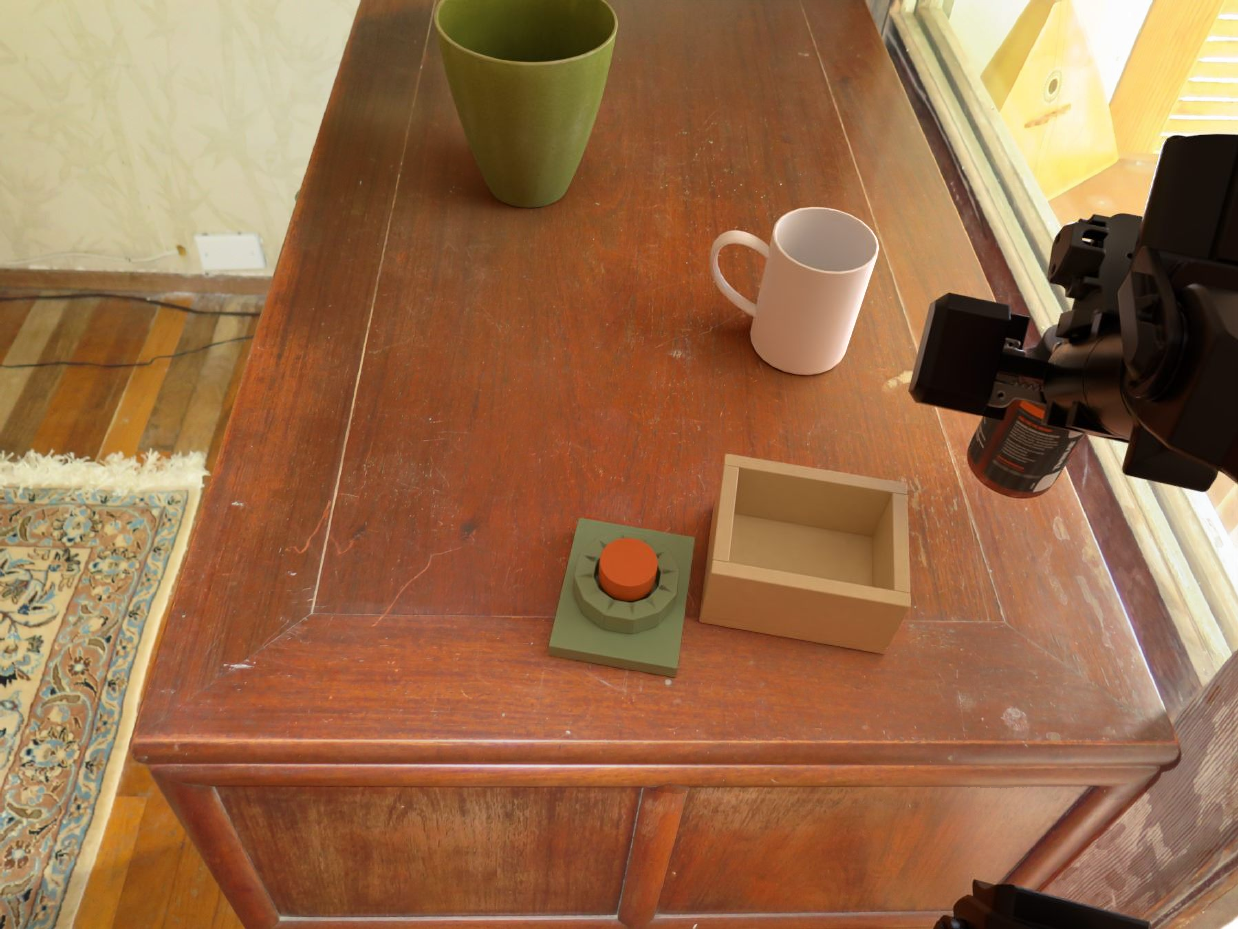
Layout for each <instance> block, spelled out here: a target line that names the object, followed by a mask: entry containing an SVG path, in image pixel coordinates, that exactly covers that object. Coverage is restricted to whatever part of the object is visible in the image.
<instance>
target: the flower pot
mask: <svg viewBox="0 0 1238 929" xmlns="http://www.w3.org/2000/svg"><path fill="white" fill-rule="evenodd" d="M433 12H434V13H433V22H434V27H435V32H436V37H437V41H438V46H439V52H440V55H441V60H442V62H443V63H442V64H443V67H444V68H443V69H444V72H445V75H446V79H447V82H448V88H449V90H450V93H451V96H452V100H453V104H454V107H455V110H456V113H457V115H458V118H459V122H460V124H461V127H462V130H463V132H464V135H465V137H466V141H467V142H468V145H469V147H470V150H471V152H472V155H473V157H474V159H475V162H476V164H477V166H478V168H479V170H480V172H481V175H482V177H483V179H484V181H485V183H486V185H487V187H488V189H489V191H490V193H491V194H492V196H494V197H495V198H496V199H497V200H498V201H501V202H502V203H505V204H507V205H510V206H513V207H518V208H524V209H525V208H527V209H528V208H529V209H530V208H531V209H532V208H533V209H534V208H540V207H545V206H548V205H552V204H554V203H556V202H557V201H559V200H561V199H562V198H563V197H564V195H565V194H566V192H567V191H568V189H569V187H570V185H571V183H572V181H573V179H574V176H575V174H576V171H577V169H578V167H579V165H580V162H581V160H582V158H583V156H584V154H585V151H586V148H587V145H588V143H589V140H590V137H591V135H592V132H593V129H594V126H595V123H596V119H597V117H598V113H599V110H600V107H601V104H602V99H603V96H604V92H605V88H606V85H607V80H608V76H609V71H610V67H611V62H612V58H613V53H614V48H615V42H616V37H617V31H618V28H619V21H618V17H617V15H616V12H615V10H614V9H613V7H612V6H611V4H609V3H608V2H607V1H606V0H439V2H438V4H437V5H436V7H435V9H434V11H433Z"/></svg>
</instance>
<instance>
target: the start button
mask: <svg viewBox="0 0 1238 929" xmlns="http://www.w3.org/2000/svg"><path fill="white" fill-rule="evenodd" d="M657 567H658V561H657V557H656V554H655V553H654V551H653V550H652V548H651V547H650V546H648V545H647V544H646V543H644V542H642V541H640V540H637V539H632V538H622V539H618V540H615V541H613V542H611V543H610V544H608V545H607V546H606V547H605V548H604V550H603V551H602V553H601V556H600V563H599V574H598V576H599V582H600V585H601V587H602V588H603V590H604V591H605V592H606V593H607V594H608V595H610V596H611V597H613V598H615V599H618V600H622V601H635V600H638V599H641V598H643V597H645V596H646V595H647V594H648V593H649V592H650V591H651V590H652V588H653V586H654V584H655V579H656V573H657Z"/></svg>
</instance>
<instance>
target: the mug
mask: <svg viewBox="0 0 1238 929" xmlns="http://www.w3.org/2000/svg"><path fill="white" fill-rule="evenodd" d="M731 244H737V245H743V246H745V247H748V248H750V249H752V250H754V251H755V252H757V253H758V254H760V255H761V256H763V258H764V259H766V260H765V265H764V269H763V274H762V278H761V283H760V287H759V292H758V296H757V301H756V303H753V302H752V301H751V300H749V299H747V298H746V297H744V296H742V295H741V294H740V293H739V292H738V291H736V290H735V289H734V288H733V287H732V286H731V285H730V284H729V283H728V282H727V280H726V279H725V277H724V276H723V274H722V272H721V270H720V267H719V261H718V260H719V253H720V251H721V250H722V249H723V247H724V246H727V245H731ZM879 250H880V245H879V241H878V238H877V236H876V234H875V233H874V231H873V230H872V229H871V227H869V226H868V225H867V224H866V223H865V222H863V220H860V219H859V218H857V217H856V216H854V215H852V214H849V213H847V212H844V211H842V210H838V209H834V208H829V207H821V206H820V207H819V206H810V207H800V208H797V209H794V210H791V211H788V212H787V213H785V214H783V215H782V216H780V217H779V218H778V219H777V221H776V222H775V224H774V225H773V230H772V234H771V238H770V243H769V245H768V244H767V243H766V242H765V241H764V240H762V239H761V238H759V237H758V236H756V235H753V234H752V233H749V232H746V231H743V230H737V229H736V230H735V229H734V230H727V231H725V232H723V233H721V234H719V235H718V236H717V238H715V240H714V241H713V243H712V245H711V247H710V255H709V271H710V274H711V277H712V281H713V282H714V284H715V285H716V287H717V288H718V290H719V291H720V293H721V294H722V295H723V296H724V297H725V298H726V299H727V300H728V301H730V302H731V303H732V304H733V305H734V306H735V307H737V308H738V309H739V310H741V311H743V312H744V313H746V314H747V315H748V316H749V315H750V316H751V317H752V323H751V328H750V334H749V335H750V342H751V344H752V346H753V348H754V351H755V352H756V354H757V355H758V356H759V357H760V358H761V359H762V360H763V361H764V362H766V363H767V364H769V365H770V366H771V367H773V368H776V369H778V370H780V371H782V372H784V373H789V374H794V375H800V376H803V375H804V376H813V375H819V374H822V373H825V372H827V371H831V370H832V369H833V368H834V367H836V366H837V365H838V364H839V363H841V361H842V360H843V358H844V356H845V355H846V352H847V349H848V346H849V343H850V340H851V337H852V335H853V331H854V328H855V325H856V322H857V319H858V316H859V313H860V310H861V307H862V305H863V304H862V303H863V300H864V298H865V295H866V291H867V288H868V286H869V283H870V279H871V276H872V273H873V272H874V268H875V265H876V261H877V258H878V255H879Z"/></svg>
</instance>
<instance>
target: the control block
mask: <svg viewBox="0 0 1238 929" xmlns="http://www.w3.org/2000/svg"><path fill="white" fill-rule="evenodd" d="M622 538H632V539H637V540H640V541H642V542H644V543H646V544H647V545H648V546H650V547H651V548H652V550H653V551H654V553H655V554H656V557H657V561H658V567H657V573H656V579H655V584H654V586H653V588H652V590H651V591H650V592H649V593H648V594H647V595H646V596H645V597H643V598H641V599H638V600H635V601H622V600H618V599H615V598H613V597H611V596H610V595H608V594H607V593H606V592H605V591H604V590H603V588H602V587H601V585H600V582H599V576H598V574H599V563H600V556H601V553H602V551H603V550H604V548H605V547H606V546H607V545H608V544H610V543H611V542H613V541H615V540H618V539H622ZM572 539H573V540H572V544H571V548H570V552H569V556H568V560H567V566H566V570H565V573H564V578H563V582H562V586H561V591H560V594H559V598H558V599H559V600H558V603H557V607H556V612H555V616H554V620H553V625H552V629H551V633H550V638H549V641H548V650H547V653H548V656H552V657H558V658H563V659H568V660H573V661H574V660H575V661H580V662H584V663H585V662H586V663H590V664H596V665H603V666H608V667H613V668H619V669H625V670H630V671H637V672H641V673H647V674H654V675H658V676H664V677H671V678H676V675H677V672H678V666H679V659H680V652H681V644H682V638H683V637H682V636H683V631H684V622H685V616H686V609H687V603H688V602H687V601H688V594H689V586H690V580H691V572H692V564H693V556H694V550H695V545H696V544H695V543H696V537H695V536H689V535H683V534H679V533H672V532H667V531H660V530H655V529H649V528H642V527H636V526H631V525H624V524H618V523H613V522H606V521H601V520H596V519H589V518H583V517H578V519H577V523H576V527H575V530H574V535H573V538H572Z"/></svg>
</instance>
